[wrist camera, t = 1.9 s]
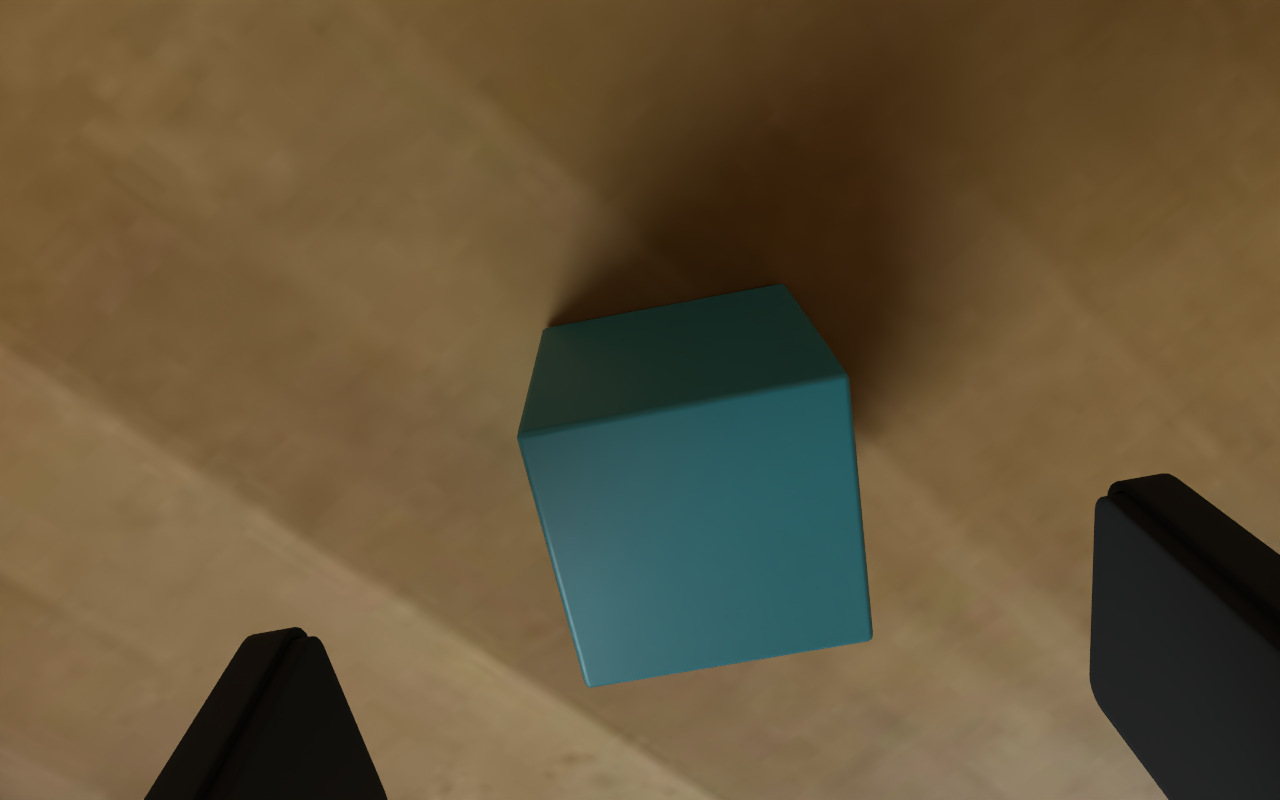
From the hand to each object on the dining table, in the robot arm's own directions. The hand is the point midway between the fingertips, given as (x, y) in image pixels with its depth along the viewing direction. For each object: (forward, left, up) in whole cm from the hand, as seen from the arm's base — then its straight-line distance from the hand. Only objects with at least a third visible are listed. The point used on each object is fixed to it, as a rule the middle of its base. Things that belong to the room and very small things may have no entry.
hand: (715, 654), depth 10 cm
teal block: (0, 0, -6) cm, 6 cm away
